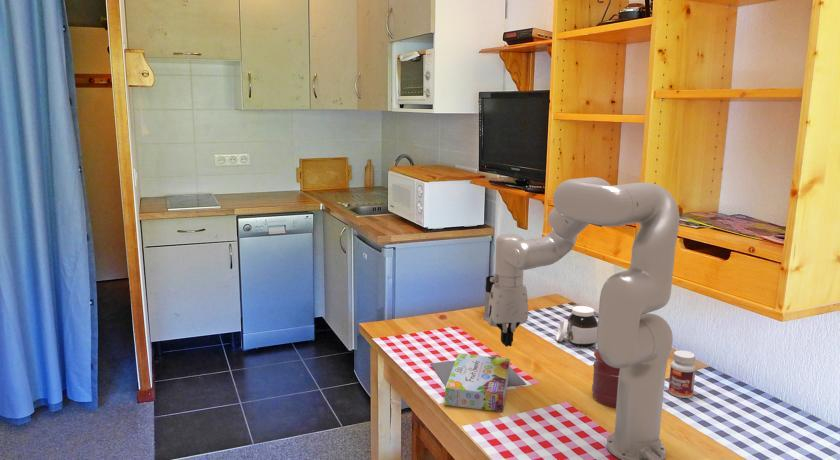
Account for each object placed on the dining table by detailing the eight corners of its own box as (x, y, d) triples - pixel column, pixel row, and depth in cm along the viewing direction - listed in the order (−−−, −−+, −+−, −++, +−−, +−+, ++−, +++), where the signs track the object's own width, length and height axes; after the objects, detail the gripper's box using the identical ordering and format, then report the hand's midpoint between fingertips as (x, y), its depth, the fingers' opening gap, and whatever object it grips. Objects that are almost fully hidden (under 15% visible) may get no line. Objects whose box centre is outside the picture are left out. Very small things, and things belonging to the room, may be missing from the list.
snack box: (504, 392, 158) (444, 387, 161) (503, 412, 159) (444, 407, 163) (510, 356, 178) (457, 352, 181) (509, 375, 180) (456, 370, 183)
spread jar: (600, 348, 202) (602, 313, 199) (568, 351, 199) (570, 316, 196) (580, 334, 213) (582, 301, 211) (550, 338, 210) (551, 304, 207)
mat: (526, 384, 175) (526, 383, 175) (450, 393, 170) (450, 392, 170) (499, 357, 194) (499, 356, 194) (430, 364, 189) (430, 363, 189)
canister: (586, 386, 174) (589, 325, 171) (633, 387, 174) (638, 325, 171) (598, 409, 161) (603, 343, 158) (650, 409, 161) (655, 344, 158)
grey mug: (493, 312, 235) (494, 273, 232) (525, 322, 225) (526, 281, 222) (478, 318, 228) (479, 278, 225) (510, 328, 219) (512, 286, 216)
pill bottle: (667, 396, 169) (671, 356, 166) (669, 386, 174) (672, 348, 172) (692, 400, 166) (696, 360, 164) (693, 391, 172) (697, 351, 170)
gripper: (487, 286, 165) (485, 352, 169) (540, 282, 169) (537, 347, 173) (477, 278, 173) (476, 342, 176) (528, 274, 176) (526, 337, 180)
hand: (506, 344), depth 174 cm, fingers closed
